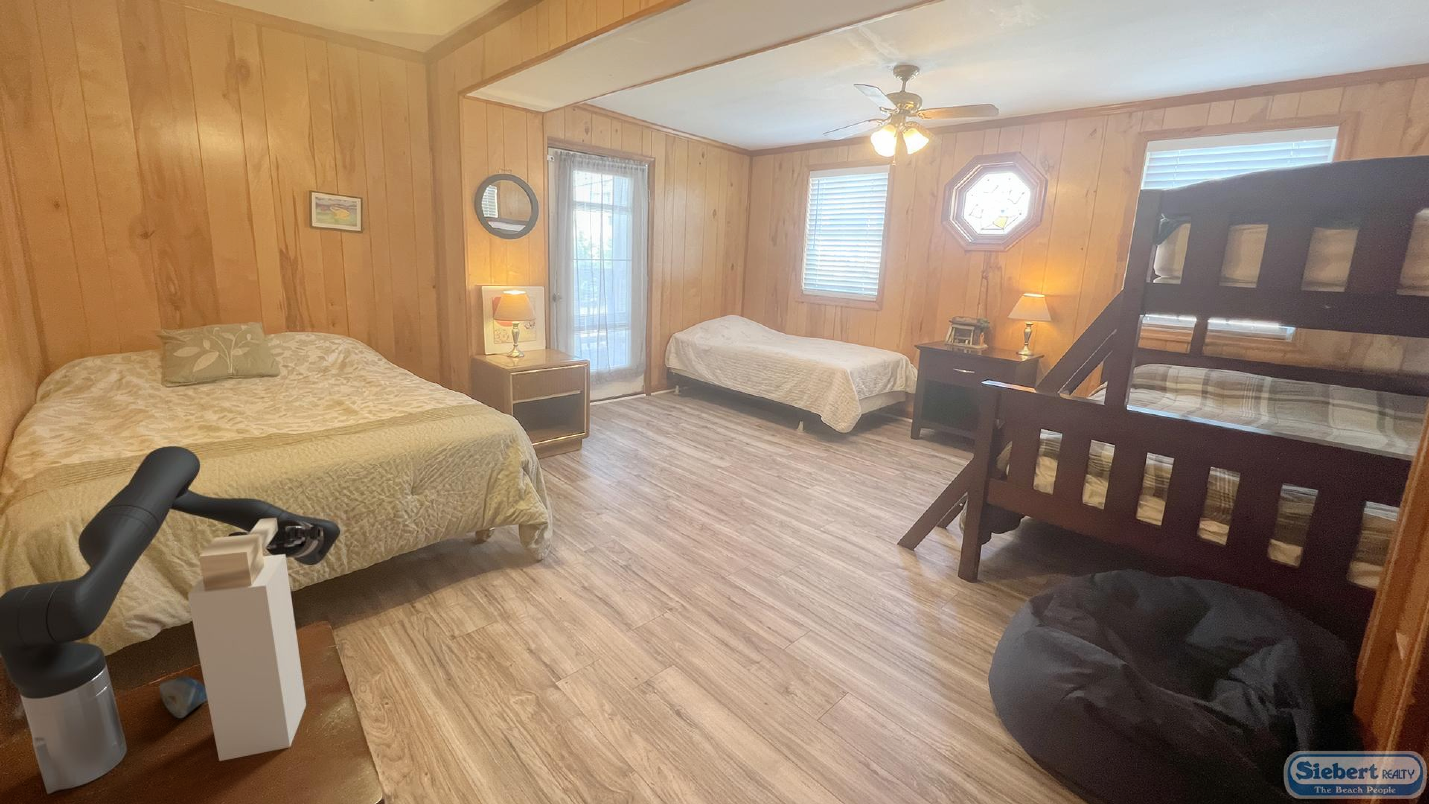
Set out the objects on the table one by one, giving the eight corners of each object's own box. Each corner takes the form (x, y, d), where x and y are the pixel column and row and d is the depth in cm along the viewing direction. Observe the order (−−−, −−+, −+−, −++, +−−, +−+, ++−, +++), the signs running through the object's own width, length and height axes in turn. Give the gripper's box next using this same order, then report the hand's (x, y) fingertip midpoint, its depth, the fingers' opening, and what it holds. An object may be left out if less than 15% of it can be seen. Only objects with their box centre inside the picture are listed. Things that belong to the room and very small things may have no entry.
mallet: (251, 585, 94) (246, 551, 92) (205, 590, 92) (198, 556, 90) (289, 528, 111) (285, 499, 110) (250, 532, 109) (246, 502, 107)
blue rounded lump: (176, 671, 114) (138, 679, 104) (228, 675, 115) (195, 683, 105) (163, 707, 112) (123, 718, 102) (216, 711, 113) (181, 722, 103)
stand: (290, 747, 102) (265, 585, 94) (219, 761, 99) (187, 594, 90) (306, 705, 111) (285, 554, 103) (241, 716, 108) (214, 561, 99)
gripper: (252, 524, 121) (218, 518, 106) (333, 517, 125) (311, 510, 111) (250, 561, 119) (214, 561, 104) (332, 553, 124) (309, 551, 109)
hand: (264, 535), depth 107 cm, fingers open, 8 cm apart
